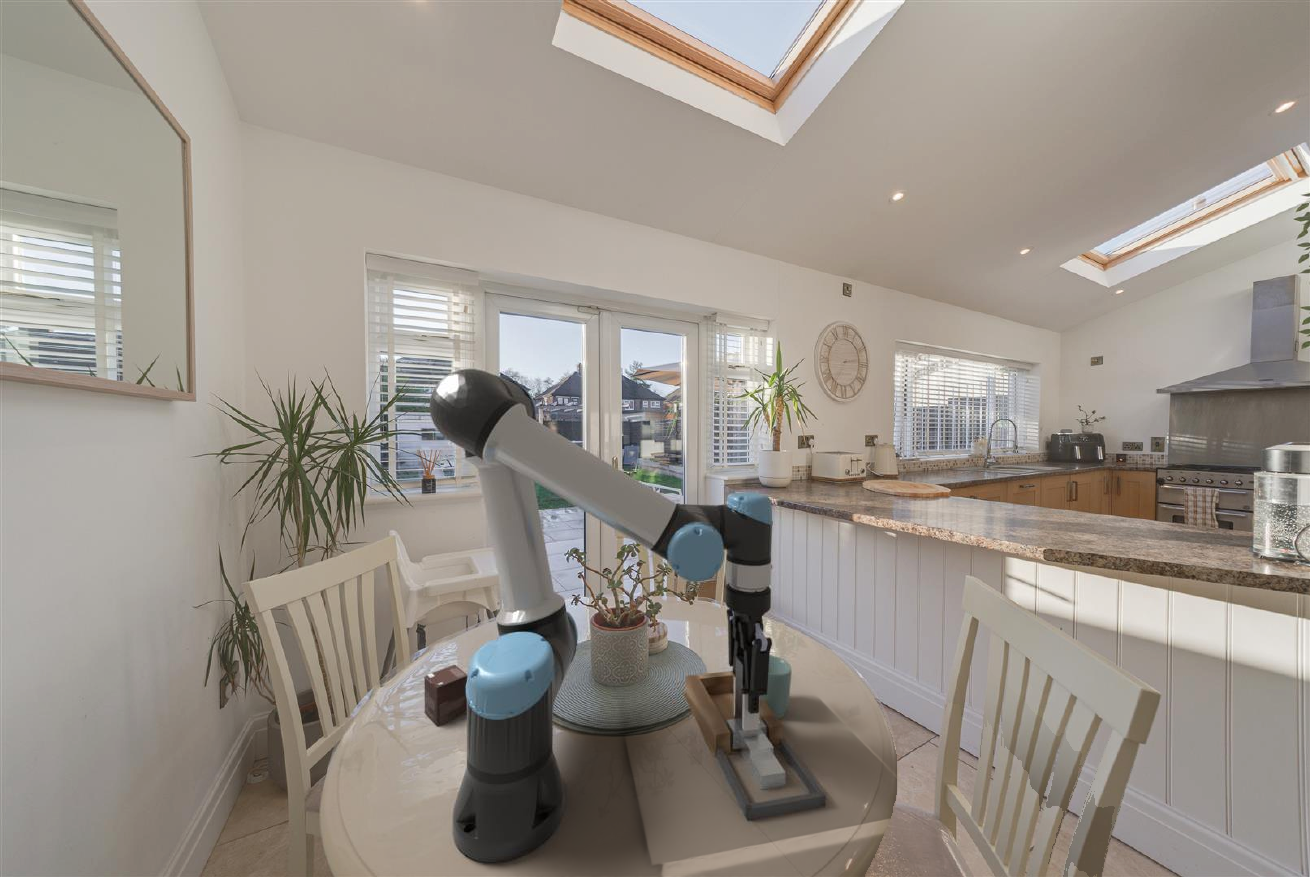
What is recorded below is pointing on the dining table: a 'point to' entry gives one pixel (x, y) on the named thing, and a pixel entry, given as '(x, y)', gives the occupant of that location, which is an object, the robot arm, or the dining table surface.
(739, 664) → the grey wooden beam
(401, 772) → the dining table surface
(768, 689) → the cup
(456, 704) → the box
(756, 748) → the block
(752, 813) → the tray
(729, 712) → the slot board
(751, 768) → the chip front
